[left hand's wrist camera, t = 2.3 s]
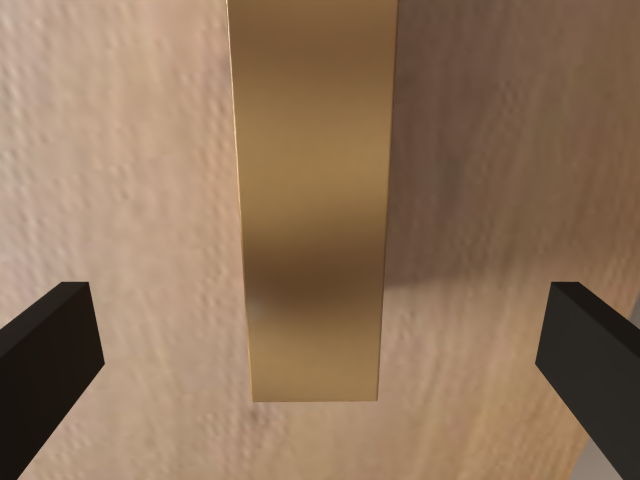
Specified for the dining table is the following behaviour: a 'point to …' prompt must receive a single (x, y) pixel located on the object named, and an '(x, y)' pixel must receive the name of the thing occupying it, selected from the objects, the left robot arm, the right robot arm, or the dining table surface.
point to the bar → (313, 190)
